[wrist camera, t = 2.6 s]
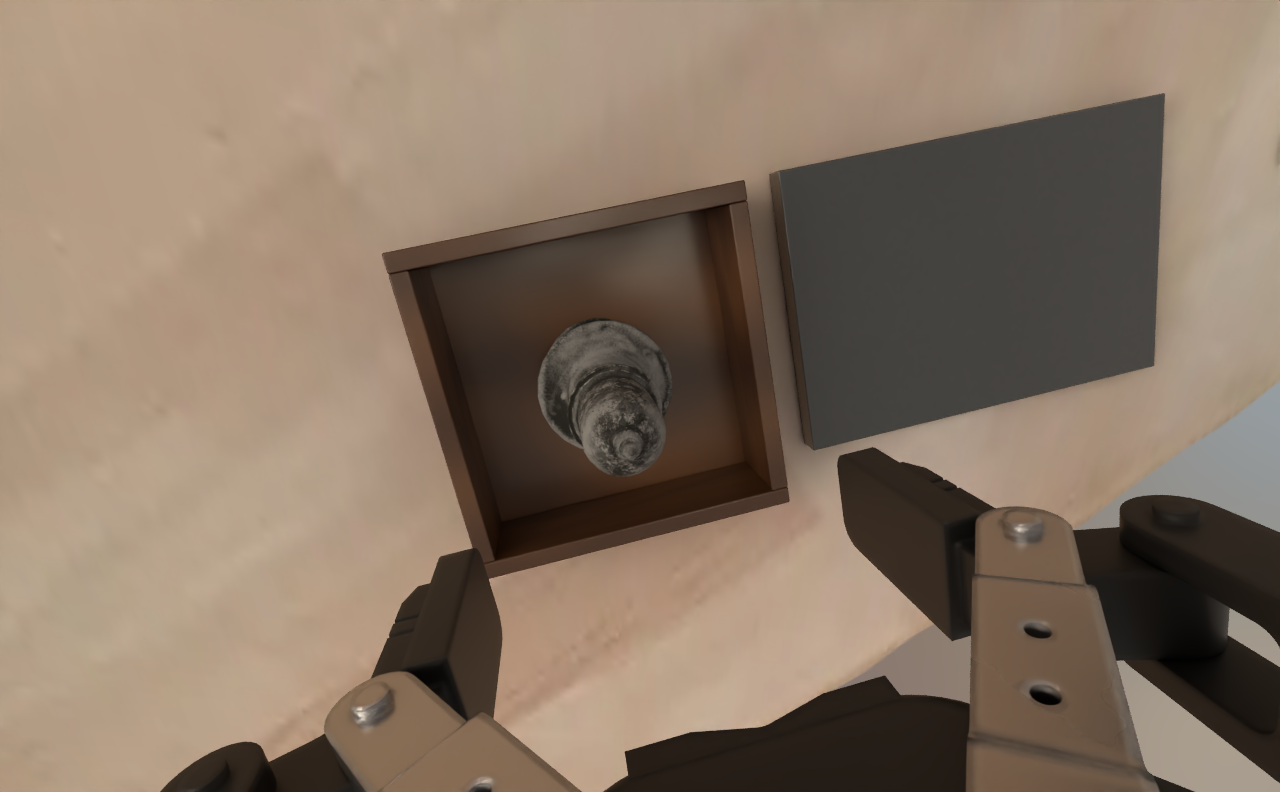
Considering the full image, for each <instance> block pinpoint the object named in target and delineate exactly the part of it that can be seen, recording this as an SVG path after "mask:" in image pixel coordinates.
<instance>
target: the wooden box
mask: <svg viewBox="0 0 1280 792" xmlns="http://www.w3.org/2000/svg"><path fill="white" fill-rule="evenodd" d="M746 200H747V195H746V188H745V181H744V180H742V181H737V182H732V183H727V184H722V185H717V186H712V187H707V188H702V189H697V190H692V191H687V192H683V193H678V194H673V195H668V196H663V197H658V198H653V199H648V200H643V201H638V202H633V203H628V204H623V205H618V206H613V207H608V208H604V209H599V210H594V211H589V212H584V213H579V214H574V215H569V216H564V217H559V218H554V219H549V220H544V221H539V222H534V223H530V224H525V225H520V226H515V227H510V228H505V229H500V230H495V231H490V232H485V233H480V234H475V235H470V236H465V237H460V238H455V239H451V240H446V241H441V242H436V243H431V244H426V245H421V246H416V247H411V248H406V249H401V250H396V251H391V252H386V253H383V254H382V257H383V260H384V263H385V266H386V270H387V273H388V274H389V279H390V282H391V285H392V289H393V292H394V295H395V298H396V301H397V305H398V308H399V311H400V314H401V318H402V321H403V324H404V327H405V331H406V334H407V337H408V340H409V343H410V347H411V350H412V353H413V356H414V360H415V363H416V366H417V369H418V373H419V376H420V379H421V382H422V386H423V389H424V392H425V395H426V398H427V402H428V405H429V408H430V411H431V415H432V418H433V421H434V424H435V428H436V431H437V434H438V437H439V440H440V444H441V447H442V450H443V453H444V457H445V460H446V463H447V466H448V470H449V473H450V476H451V479H452V483H453V486H454V489H455V492H456V495H457V499H458V502H459V505H460V508H461V512H462V515H463V518H464V521H465V525H466V528H467V531H468V534H469V538H470V541H471V544H472V547H473V548H477V549H478V550H479V552H480V554H481V557H482V560H483V563H484V566H485V570H486V573H487V576H488V579H490V578H494V577H498V576H501V575H505V574H509V573H513V572H517V571H521V570H525V569H529V568H533V567H537V566H541V565H544V564H548V563H552V562H556V561H560V560H564V559H568V558H572V557H576V556H580V555H584V554H587V553H591V552H595V551H599V550H603V549H607V548H611V547H615V546H619V545H623V544H627V543H630V542H634V541H638V540H642V539H646V538H650V537H654V536H658V535H662V534H666V533H670V532H673V531H677V530H681V529H685V528H689V527H693V526H697V525H701V524H705V523H709V522H713V521H716V520H720V519H724V518H728V517H732V516H736V515H740V514H744V513H748V512H752V511H756V510H759V509H763V508H767V507H771V506H775V505H779V504H783V503H787V502H789V493H788V488H787V478H786V471H785V464H784V457H783V450H782V443H781V436H780V429H779V422H778V415H777V408H776V401H775V393H774V386H773V379H772V372H771V365H770V358H769V351H768V344H767V337H766V330H765V323H764V316H763V309H762V302H761V295H760V288H759V281H758V273H757V266H756V259H755V252H754V245H753V238H752V231H751V224H750V217H749V210H748V203H747V201H746ZM592 318H608V319H611V320H615V321H618V322H621V323H625V324H628V325H632V326H634V327H636V328H637V329H639V330H641V331H642V332H644V333H646V334H647V335H649V336H650V337H651V338H652V339H653V341H654V342H655V343H656V344H657V345H658V346H659V347H660V348H661V350H662V352H663V354H664V356H665V357H666V359H667V361H668V363H669V367H670V372H671V376H672V395H671V400H670V403H669V406H668V409H667V412H666V414H665V416H664V421H665V426H666V438H665V444H664V447H663V450H662V452H661V454H660V455H659V457H658V459H657V460H656V461H655V462H654V463H653V464H652V465H651V466H650V467H649V468H648V469H646V470H644V471H643V472H641V473H639V474H635V475H632V476H626V477H617V476H613V475H609V474H606V473H605V472H603V471H601V470H599V469H598V468H597V467H596V466H595V465H594V464H593V463H592V462H591V461H590V460H589V459H588V457H587V455H586V454H585V452H584V449H581V448H578V447H576V446H574V445H572V444H571V443H569V442H567V441H565V440H564V439H563V438H561V437H560V436H559V435H558V434H557V433H556V432H555V431H554V430H553V429H552V428H551V426H550V425H549V423H548V422H547V420H546V418H545V417H544V415H543V413H542V410H541V406H540V403H539V399H538V376H539V373H540V369H541V365H542V362H543V360H544V358H545V357H546V355H547V353H548V352H549V350H550V348H551V347H552V345H553V343H554V342H555V340H556V338H557V337H558V336H559V335H561V334H562V333H563V332H564V331H565V330H566V329H567V328H569V327H570V326H572V325H574V324H576V323H578V322H580V321H584V320H588V319H592Z"/></svg>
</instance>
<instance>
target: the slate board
mask: <svg viewBox="0 0 1280 792" xmlns="http://www.w3.org/2000/svg"><path fill="white" fill-rule="evenodd" d="M1164 103H1165V94H1164V93H1163V94H1158V95H1153V96H1148V97H1143V98H1138V99H1133V100H1128V101H1123V102H1118V103H1113V104H1108V105H1103V106H1098V107H1093V108H1088V109H1083V110H1078V111H1074V112H1069V113H1064V114H1059V115H1054V116H1049V117H1044V118H1039V119H1034V120H1029V121H1024V122H1019V123H1014V124H1009V125H1004V126H999V127H994V128H989V129H985V130H980V131H975V132H970V133H965V134H960V135H955V136H950V137H945V138H940V139H935V140H930V141H925V142H920V143H915V144H910V145H905V146H900V147H896V148H891V149H886V150H881V151H876V152H871V153H866V154H861V155H856V156H851V157H846V158H841V159H836V160H831V161H826V162H821V163H816V164H811V165H807V166H802V167H797V168H792V169H787V170H782V171H778V172H775V173H771V174H770V182H771V189H772V197H773V205H774V212H775V220H776V228H777V235H778V243H779V251H780V258H781V266H782V274H783V281H784V289H785V297H786V304H787V312H788V320H789V327H790V335H791V343H792V350H793V358H794V366H795V373H796V381H797V389H798V396H799V404H800V412H801V419H802V427H803V435H804V442H805V444H806V445H808V446H809V447H810V448H811V449H813V450H817V449H821V448H825V447H829V446H833V445H837V444H841V443H846V442H850V441H854V440H858V439H862V438H866V437H870V436H874V435H878V434H882V433H886V432H890V431H894V430H898V429H902V428H906V427H910V426H914V425H918V424H922V423H926V422H930V421H934V420H938V419H942V418H946V417H950V416H954V415H958V414H962V413H966V412H970V411H974V410H978V409H982V408H986V407H990V406H994V405H998V404H1002V403H1006V402H1010V401H1015V400H1019V399H1023V398H1027V397H1031V396H1035V395H1039V394H1043V393H1047V392H1051V391H1055V390H1059V389H1063V388H1067V387H1071V386H1075V385H1079V384H1083V383H1087V382H1091V381H1095V380H1099V379H1103V378H1107V377H1111V376H1115V375H1119V374H1123V373H1127V372H1131V371H1135V370H1139V369H1143V368H1147V367H1151V366H1154V355H1155V329H1156V304H1157V279H1158V254H1159V229H1160V204H1161V178H1162V153H1163V128H1164Z"/></svg>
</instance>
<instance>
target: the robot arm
mask: <svg viewBox="0 0 1280 792" xmlns="http://www.w3.org/2000/svg"><path fill="white" fill-rule="evenodd" d="M837 467H838V476H839V484H840V493H841V501H842V509H843V517H844V523H845V527H846V530H847V533H848V535H849V537H850V539H851V541H852V543H853V544H854V546H855V547H856V548H857V549H858V550H859V551H860V552H861V553H862V554H863V555H864V556H865V557H866V558H867V559H868V560H869V561H870V562H871V563H872V564H873V565H874V566H875V567H876V568H877V569H878V570H880V571H881V572H882V573H883V574H884V575H885V576H886V577H887V578H888V579H889V580H890V581H891V582H892V583H893V584H894V585H895V586H896V587H897V588H898V589H899V590H900V591H901V592H902V593H903V594H904V595H905V596H906V597H907V598H908V599H909V600H910V601H911V602H912V603H913V604H915V605H916V606H917V607H918V608H919V609H920V610H921V611H922V612H923V613H924V614H925V615H926V616H927V617H928V618H929V619H930V620H931V621H932V622H933V623H934V624H935V625H936V626H937V627H938V628H939V629H940V630H941V631H942V632H943V633H944V634H945V635H946V636H948V638H950V639H951V640H952V641H954V640H957V639H961V638H964V637H967V636H971V671H970V672H971V673H970V704H968V703H965V702H962V701H957V700H952V699H948V698H943V697H935V696H927V695H900V694H899V693H898V692H897V691H896V689H895V688H894V687H893V685H892V684H891V683H890V682H889V680H888V679H887V678H886V676H882V677H878V678H875V679H871V680H868V681H865V682H861V683H858V684H854V685H851V686H847V687H844V688H840V689H837V690H834V691H830V692H827V693H823V694H821V695H820V696H818V697H816V698H814V699H813V700H811V701H809V702H807V703H806V704H804V705H802V706H800V707H799V708H797V709H795V710H793V711H792V712H790V713H788V714H786V715H785V716H783V717H781V718H779V719H778V720H776V721H774V722H772V723H770V724H768V725H766V726H763V727H758V728H745V729H731V730H717V731H703V732H690V733H687V734H684V735H680V736H677V737H673V738H670V739H666V740H663V741H660V742H656V743H653V744H649V745H646V746H643V747H639V748H636V749H632V750H629V751H626V752H625V756H626V763H627V770H628V776H626V777H624V778H623V779H621V780H619V781H618V782H616V783H615V784H614V785H612V786H611V787H609V788H608V789H607V790H605V791H604V792H1194V791H1191V790H1189V789H1186V788H1183V787H1181V786H1179V785H1176V784H1174V783H1171V782H1169V781H1166V780H1163V779H1161V778H1158V777H1156V776H1153V775H1152V774H1150V773H1149V772H1148V771H1147V769H1146V767H1145V765H1144V761H1143V758H1142V754H1141V751H1140V747H1139V743H1138V739H1137V736H1136V732H1135V729H1134V725H1133V721H1132V717H1131V714H1130V710H1129V706H1128V702H1127V699H1126V695H1125V691H1124V688H1123V684H1122V680H1121V676H1120V673H1119V669H1118V665H1117V662H1116V661H1118V660H1124V661H1125V662H1126V663H1127V664H1128V665H1129V666H1130V667H1132V668H1133V669H1134V670H1136V671H1137V672H1138V673H1139V674H1141V675H1142V676H1143V677H1145V678H1146V679H1147V680H1148V681H1150V682H1151V683H1152V684H1153V685H1155V686H1156V687H1157V688H1159V689H1160V690H1161V691H1162V692H1164V693H1165V694H1166V695H1168V696H1169V697H1170V698H1171V699H1173V700H1174V701H1175V702H1176V703H1178V704H1179V705H1180V706H1182V707H1183V708H1184V709H1186V710H1187V711H1188V712H1189V713H1191V714H1192V715H1193V716H1194V717H1196V718H1197V719H1198V720H1200V721H1201V722H1202V723H1203V724H1205V725H1206V726H1207V727H1208V728H1210V729H1211V730H1212V731H1214V732H1215V733H1216V734H1217V735H1219V736H1220V737H1221V738H1223V739H1224V740H1225V741H1226V742H1228V743H1229V744H1230V745H1232V746H1233V747H1234V748H1235V749H1237V750H1238V751H1239V752H1240V753H1242V754H1243V755H1244V756H1246V757H1247V758H1248V759H1249V760H1251V761H1252V762H1253V763H1255V764H1256V765H1257V766H1258V767H1260V768H1261V769H1262V770H1264V771H1265V772H1266V773H1268V774H1269V775H1270V776H1271V777H1272V778H1274V779H1275V780H1276V781H1278V782H1279V783H1280V667H1278V666H1277V665H1275V664H1274V663H1272V662H1270V661H1269V660H1267V659H1266V658H1264V657H1262V656H1260V655H1259V654H1257V653H1256V652H1254V651H1252V650H1251V649H1249V648H1248V647H1246V646H1244V645H1243V644H1241V643H1239V642H1238V641H1236V640H1234V639H1233V638H1231V637H1230V636H1228V621H1229V608H1231V609H1233V610H1235V611H1236V612H1238V613H1240V614H1242V615H1243V616H1245V617H1247V618H1249V619H1250V620H1252V621H1254V622H1256V623H1257V624H1259V625H1260V626H1261V627H1263V628H1264V629H1265V630H1267V632H1268V633H1270V635H1271V636H1272V637H1273V638H1274V639H1275V641H1276V642H1277V644H1278V645H1279V647H1280V532H1277V531H1275V530H1272V529H1270V528H1268V527H1265V526H1263V525H1261V524H1258V523H1256V522H1253V521H1251V520H1248V519H1246V518H1244V517H1241V516H1239V515H1237V514H1234V513H1232V512H1230V511H1227V510H1225V509H1222V508H1220V507H1218V506H1215V505H1213V504H1210V503H1207V502H1204V501H1200V500H1196V499H1192V498H1186V497H1180V496H1171V495H1170V496H1169V495H1150V496H1141V497H1136V498H1132V499H1130V500H1128V501H1125V502H1124V503H1123V504H1122V505H1121V507H1120V527H1116V528H1102V529H1087V530H1073V529H1072V527H1071V525H1070V524H1069V523H1068V522H1067V521H1066V520H1065V519H1063V518H1062V517H1060V516H1058V515H1056V514H1053V513H1051V512H1048V511H1044V510H1040V509H1036V508H1029V507H1002V508H994V507H992V506H990V505H989V504H987V503H985V502H983V501H982V500H980V499H978V498H977V497H975V496H973V495H971V494H970V493H968V492H966V491H965V490H963V489H961V488H957V486H956V485H954V484H953V483H951V482H949V481H947V480H943V478H942V477H940V476H939V475H937V474H935V473H934V472H932V471H930V470H928V469H927V468H924V467H920V466H916V465H912V464H908V463H905V462H901V463H899V462H898V461H896V460H894V459H893V458H891V457H889V456H888V455H886V454H884V453H883V452H881V451H879V450H878V449H876V448H873V447H872V448H868V449H864V450H860V451H856V452H852V453H848V454H844V455H841V456H840V457H839V458H838V463H837ZM501 648H502V627H501V621H500V616H499V612H498V608H497V605H496V602H495V599H494V595H493V592H492V589H491V586H490V582H489V579H488V576H487V573H486V570H485V566H484V563H483V560H482V557H481V554H480V552H479V550H478V549H477V548H472V549H468V550H464V551H460V552H456V553H452V554H449V555H445V556H441V557H440V558H439V560H438V563H437V566H436V569H435V571H434V574H433V577H432V580H431V583H429V584H425V585H422V586H418V587H417V588H416V589H415V590H414V591H413V592H412V593H411V594H410V596H409V597H408V598H407V599H406V600H405V601H404V602H403V603H402V605H401V607H400V609H399V612H398V614H397V617H396V619H395V624H393V626H392V629H391V631H390V634H389V638H387V641H386V643H385V646H384V648H383V651H382V653H381V655H380V658H379V660H378V663H377V665H376V668H375V670H374V672H373V675H372V677H371V679H369V680H367V681H365V682H363V683H362V684H360V685H358V686H357V687H355V688H354V689H352V690H351V691H350V692H348V693H347V694H346V695H345V696H343V697H342V698H341V699H340V700H339V701H338V702H337V703H336V705H335V706H334V707H333V708H332V709H331V711H330V713H329V714H328V716H327V718H326V721H325V725H324V732H325V734H323V735H322V736H320V737H318V738H316V739H315V740H313V741H311V742H309V743H307V744H305V745H303V746H301V747H299V748H297V749H295V750H293V751H291V752H289V753H287V754H285V755H282V756H280V757H278V758H276V759H274V760H272V761H270V762H268V760H267V758H266V756H265V754H264V752H263V749H262V748H261V746H260V745H258V744H257V743H253V742H240V743H235V744H231V745H228V746H225V747H223V748H220V749H218V750H216V751H213V752H211V753H209V754H208V755H206V756H204V757H202V758H201V759H199V760H197V761H196V762H194V763H193V764H191V765H190V766H188V767H187V768H186V769H184V770H183V771H182V772H180V773H179V774H178V775H177V776H176V777H174V778H173V779H172V780H171V781H170V782H169V783H168V784H167V785H166V786H165V787H164V788H163V789H162V790H161V792H582V791H580V790H579V789H578V788H577V787H575V786H574V785H573V784H572V783H571V782H569V781H568V780H567V779H566V778H564V777H563V776H562V775H561V774H560V773H558V772H557V771H556V770H555V769H553V768H552V767H551V766H550V765H549V764H547V763H546V762H545V761H544V760H543V759H541V758H540V757H539V756H538V755H536V754H535V753H534V752H533V751H532V750H530V749H529V748H528V747H527V746H525V745H524V744H523V743H522V742H521V741H519V740H518V739H517V738H516V737H514V736H513V735H512V734H511V733H510V732H508V731H507V730H506V729H505V728H503V727H502V726H501V725H500V724H499V723H497V722H496V721H495V720H494V719H493V717H494V708H495V699H496V691H497V682H498V674H499V665H500V657H501Z"/></svg>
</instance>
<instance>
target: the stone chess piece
mask: <svg viewBox="0 0 1280 792" xmlns="http://www.w3.org/2000/svg"><path fill="white" fill-rule="evenodd" d="M671 395H672V376H671V372H670V367H669V363H668V361H667V359H666V357H665V356H664V354H663V352H662V350H661V348H660V347H659V346H658V345H657V344H656V343H655V342H654V341H653V339H652V338H651V337H650V336H649V335H647V334H646V333H644V332H642V331H641V330H639V329H637V328H636V327H634V326H632V325H628V324H625V323H621V322H618V321H615V320H611V319H608V318H592V319H588V320H584V321H580V322H578V323H576V324H574V325H572V326H570V327H569V328H567V329H566V330H565V331H564V332H563V333H562V334H561V335H559V336H558V337H557V338H556V340H555V342H554V343H553V345H552V347H551V348H550V350H549V352H548V353H547V355H546V357H545V358H544V360H543V362H542V365H541V369H540V373H539V376H538V399H539V403H540V406H541V410H542V413H543V415H544V417H545V418H546V420H547V422H548V423H549V425H550V426H551V428H552V429H553V430H554V431H555V432H556V433H557V434H558V435H559V436H560V437H561V438H563V439H564V440H565V441H567V442H569V443H571V444H572V445H574V446H576V447H578V448H581V449H584V452H585V454H586V455H587V457H588V459H589V460H590V461H591V462H592V463H593V464H594V465H595V466H596V467H597V468H598V469H599V470H601V471H603V472H605V473H606V474H609V475H613V476H617V477H626V476H632V475H635V474H639V473H641V472H643V471H644V470H646V469H648V468H649V467H650V466H651V465H652V464H653V463H654V462H655V461H656V460H657V459H658V457H659V455H660V454H661V452H662V450H663V447H664V444H665V438H666V426H665V421H664V416H665V414H666V412H667V409H668V406H669V403H670V400H671Z"/></svg>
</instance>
